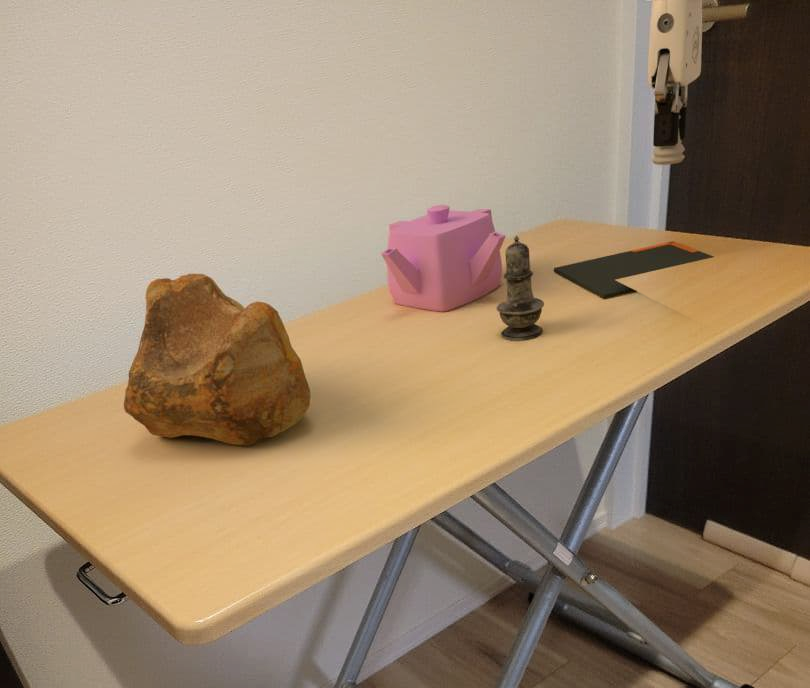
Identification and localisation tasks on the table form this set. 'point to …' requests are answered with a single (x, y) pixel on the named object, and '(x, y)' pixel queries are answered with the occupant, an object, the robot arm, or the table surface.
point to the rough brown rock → (213, 366)
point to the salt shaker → (519, 296)
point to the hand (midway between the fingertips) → (669, 141)
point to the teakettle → (443, 258)
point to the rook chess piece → (669, 149)
